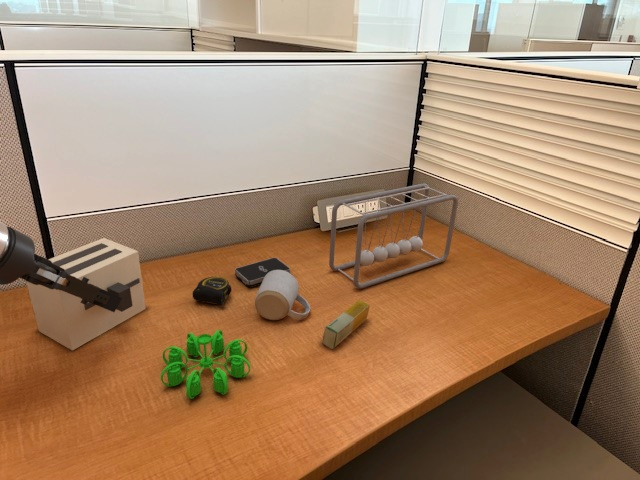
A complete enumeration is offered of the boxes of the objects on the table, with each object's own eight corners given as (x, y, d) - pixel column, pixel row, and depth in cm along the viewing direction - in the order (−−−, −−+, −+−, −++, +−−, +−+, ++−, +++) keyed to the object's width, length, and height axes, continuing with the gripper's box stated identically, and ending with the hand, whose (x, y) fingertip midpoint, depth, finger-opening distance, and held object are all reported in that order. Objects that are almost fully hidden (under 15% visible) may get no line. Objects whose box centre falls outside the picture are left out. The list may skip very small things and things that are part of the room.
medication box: (333, 350, 87) (336, 333, 85) (321, 343, 88) (323, 326, 86) (367, 319, 95) (370, 303, 93) (355, 313, 97) (358, 297, 95)
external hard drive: (234, 276, 109) (234, 268, 108) (275, 264, 115) (275, 256, 114) (249, 289, 104) (248, 281, 103) (291, 276, 110) (291, 268, 109)
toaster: (38, 331, 88) (22, 268, 82) (113, 293, 100) (103, 236, 95) (72, 351, 83) (58, 286, 78) (146, 309, 96) (138, 250, 90)
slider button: (110, 306, 87) (106, 287, 86) (121, 300, 89) (118, 282, 88) (121, 312, 86) (118, 293, 84) (132, 306, 88) (130, 287, 86)
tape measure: (191, 304, 98) (190, 288, 97) (207, 288, 104) (206, 272, 103) (221, 310, 97) (221, 294, 95) (236, 293, 103) (235, 278, 101)
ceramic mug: (252, 320, 94) (252, 286, 90) (263, 298, 101) (263, 266, 98) (305, 327, 93) (307, 294, 89) (312, 305, 100) (314, 272, 97)
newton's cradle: (354, 291, 105) (361, 217, 98) (327, 271, 113) (331, 201, 105) (448, 260, 121) (460, 194, 113) (419, 244, 129) (428, 181, 121)
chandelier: (180, 419, 70) (176, 383, 68) (147, 363, 81) (142, 329, 78) (268, 381, 79) (268, 346, 76) (227, 334, 90) (226, 303, 87)
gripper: (-50, 262, 66) (81, 312, 86) (-1, 288, 60) (129, 336, 80) (-18, 215, 68) (103, 275, 88) (32, 235, 62) (151, 295, 82)
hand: (115, 304), depth 84 cm, fingers closed
